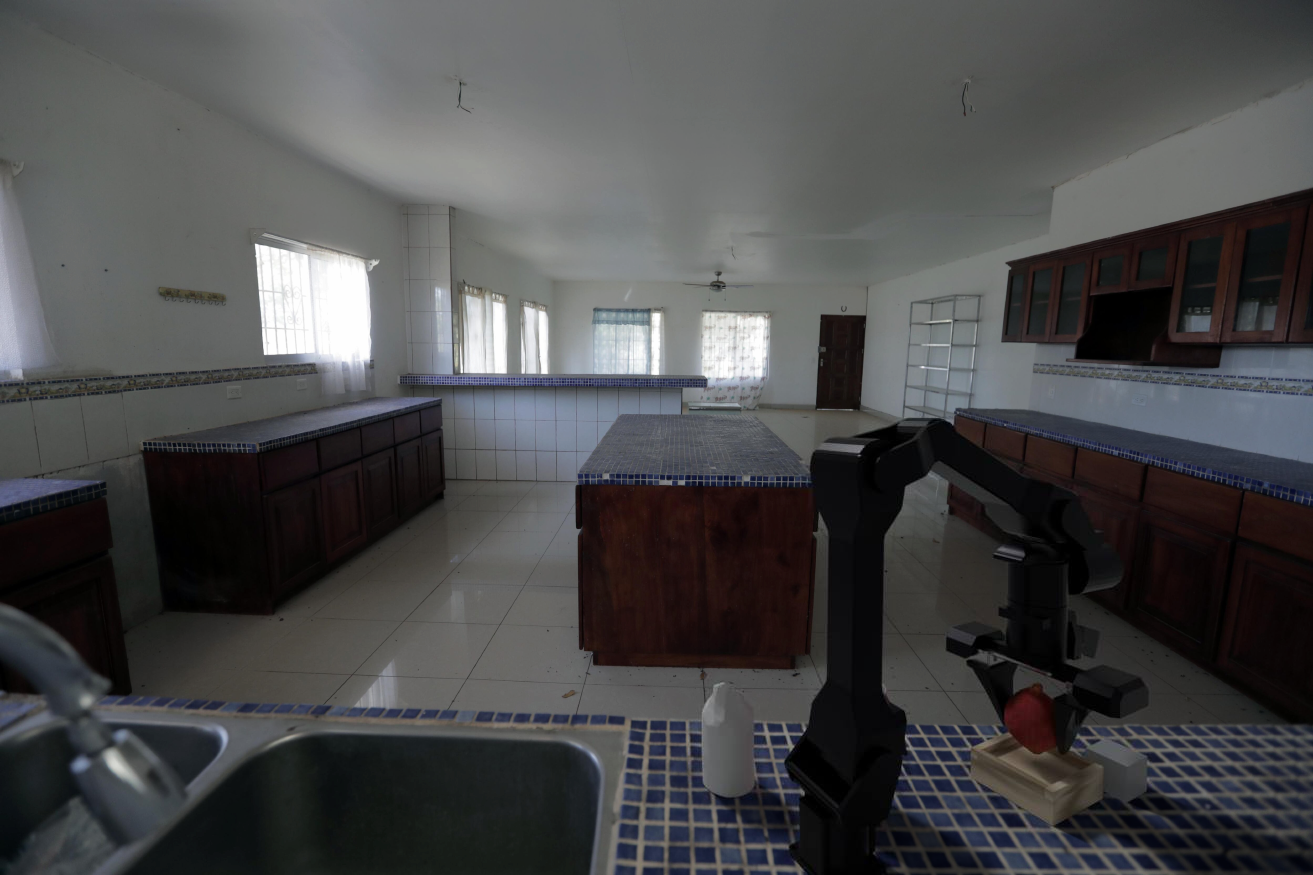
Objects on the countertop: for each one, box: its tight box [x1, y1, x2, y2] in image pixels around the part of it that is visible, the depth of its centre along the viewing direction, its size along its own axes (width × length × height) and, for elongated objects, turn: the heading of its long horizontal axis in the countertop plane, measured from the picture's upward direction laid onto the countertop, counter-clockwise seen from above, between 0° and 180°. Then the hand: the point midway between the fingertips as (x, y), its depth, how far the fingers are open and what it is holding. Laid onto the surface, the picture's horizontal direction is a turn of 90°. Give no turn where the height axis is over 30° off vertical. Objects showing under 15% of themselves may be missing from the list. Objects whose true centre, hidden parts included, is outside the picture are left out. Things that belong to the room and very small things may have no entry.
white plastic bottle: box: [701, 682, 755, 798], centre depth 67 cm, size 6×12×6 cm
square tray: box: [970, 731, 1104, 827], centre depth 66 cm, size 9×9×4 cm
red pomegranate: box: [1004, 682, 1057, 755], centre depth 65 cm, size 6×6×8 cm
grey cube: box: [1085, 738, 1148, 804], centre depth 66 cm, size 4×4×4 cm
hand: (1034, 739), depth 65 cm, fingers closed on red pomegranate, 6 cm apart
